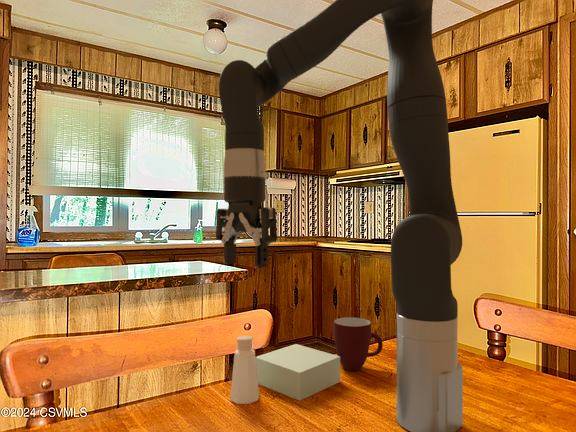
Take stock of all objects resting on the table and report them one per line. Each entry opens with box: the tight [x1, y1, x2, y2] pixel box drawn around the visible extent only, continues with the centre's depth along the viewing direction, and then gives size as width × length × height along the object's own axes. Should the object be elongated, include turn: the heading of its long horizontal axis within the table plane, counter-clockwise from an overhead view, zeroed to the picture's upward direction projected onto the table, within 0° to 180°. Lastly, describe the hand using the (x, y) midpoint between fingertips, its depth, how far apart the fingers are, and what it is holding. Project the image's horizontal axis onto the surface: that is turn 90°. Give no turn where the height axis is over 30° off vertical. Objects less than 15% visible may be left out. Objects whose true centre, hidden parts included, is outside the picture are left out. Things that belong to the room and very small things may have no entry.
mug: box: [333, 316, 384, 372], centre depth 92 cm, size 10×8×10 cm
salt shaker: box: [229, 335, 260, 405], centre depth 77 cm, size 5×5×11 cm
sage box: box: [255, 343, 341, 402], centre depth 84 cm, size 12×12×5 cm
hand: (245, 265), depth 77 cm, fingers open, 8 cm apart
